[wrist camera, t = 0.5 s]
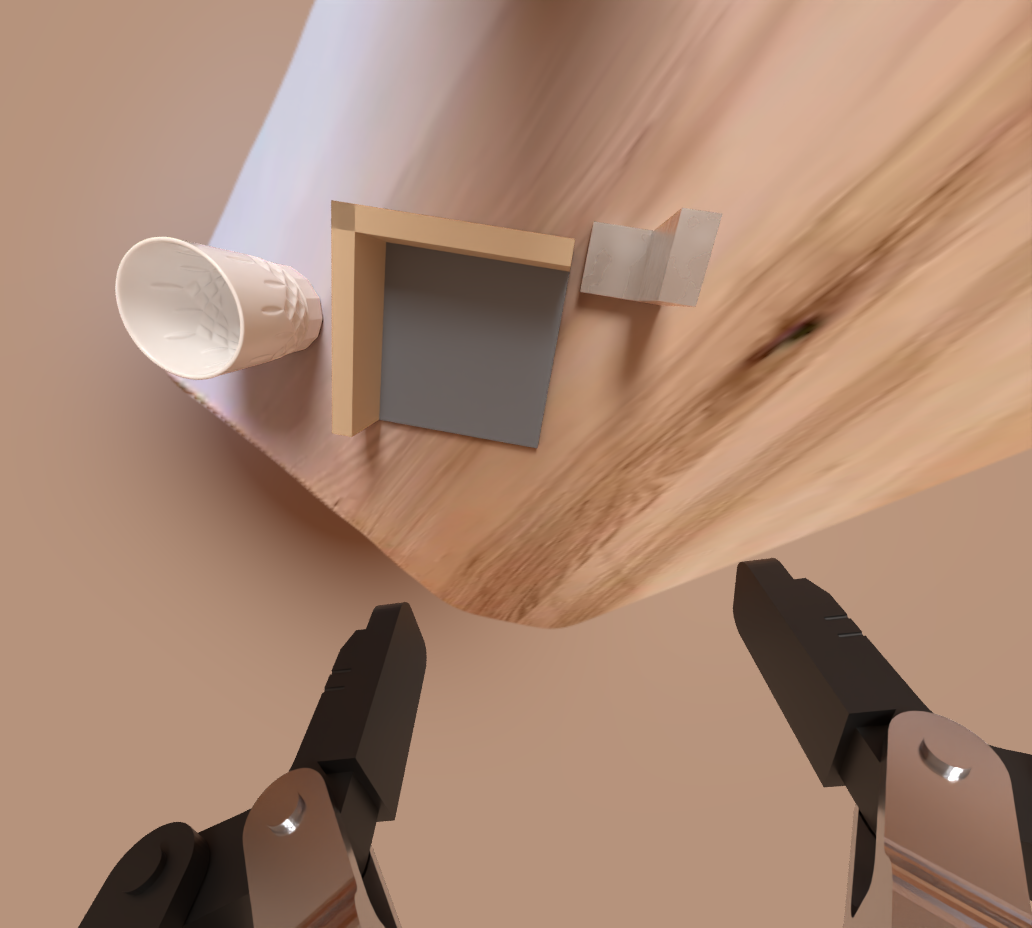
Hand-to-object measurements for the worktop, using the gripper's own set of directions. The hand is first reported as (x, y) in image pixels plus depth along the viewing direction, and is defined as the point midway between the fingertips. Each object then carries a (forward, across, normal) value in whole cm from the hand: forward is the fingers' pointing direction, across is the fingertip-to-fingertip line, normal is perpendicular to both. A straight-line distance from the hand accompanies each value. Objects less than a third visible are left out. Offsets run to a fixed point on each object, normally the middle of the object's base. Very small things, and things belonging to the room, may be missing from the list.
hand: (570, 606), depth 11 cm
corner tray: (+27, +6, -1) cm, 27 cm away
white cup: (+29, +19, -6) cm, 35 cm away
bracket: (+26, -8, -5) cm, 28 cm away
